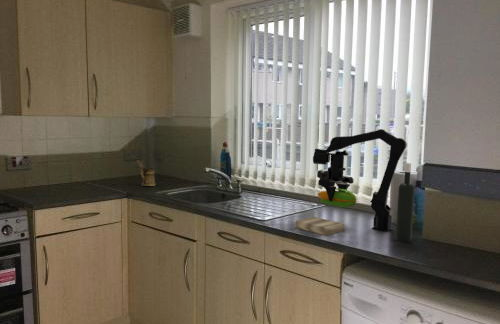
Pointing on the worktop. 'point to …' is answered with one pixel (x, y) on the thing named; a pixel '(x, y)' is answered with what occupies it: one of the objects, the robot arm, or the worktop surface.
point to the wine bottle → (405, 208)
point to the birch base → (319, 225)
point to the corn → (339, 198)
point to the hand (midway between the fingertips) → (335, 200)
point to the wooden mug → (146, 175)
